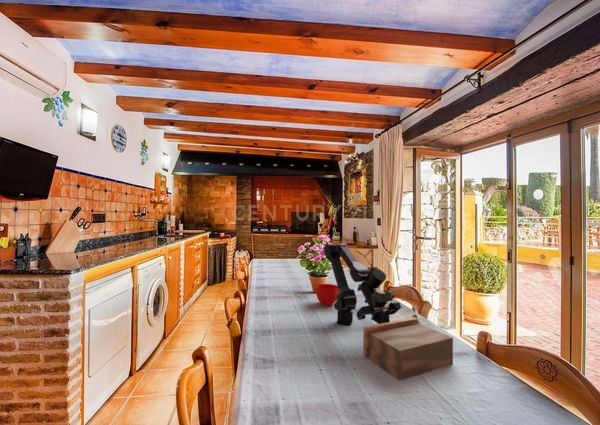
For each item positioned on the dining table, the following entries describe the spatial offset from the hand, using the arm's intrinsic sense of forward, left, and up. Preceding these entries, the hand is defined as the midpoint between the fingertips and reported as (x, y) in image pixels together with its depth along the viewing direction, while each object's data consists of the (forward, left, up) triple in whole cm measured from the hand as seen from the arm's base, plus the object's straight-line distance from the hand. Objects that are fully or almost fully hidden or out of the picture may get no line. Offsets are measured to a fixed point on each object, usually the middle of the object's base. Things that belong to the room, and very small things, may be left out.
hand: (389, 331), depth 108 cm
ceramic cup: (-32, +46, -7) cm, 57 cm away
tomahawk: (+15, +33, -7) cm, 37 cm away
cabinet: (+7, -8, -7) cm, 12 cm away
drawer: (+5, -6, -6) cm, 10 cm away
